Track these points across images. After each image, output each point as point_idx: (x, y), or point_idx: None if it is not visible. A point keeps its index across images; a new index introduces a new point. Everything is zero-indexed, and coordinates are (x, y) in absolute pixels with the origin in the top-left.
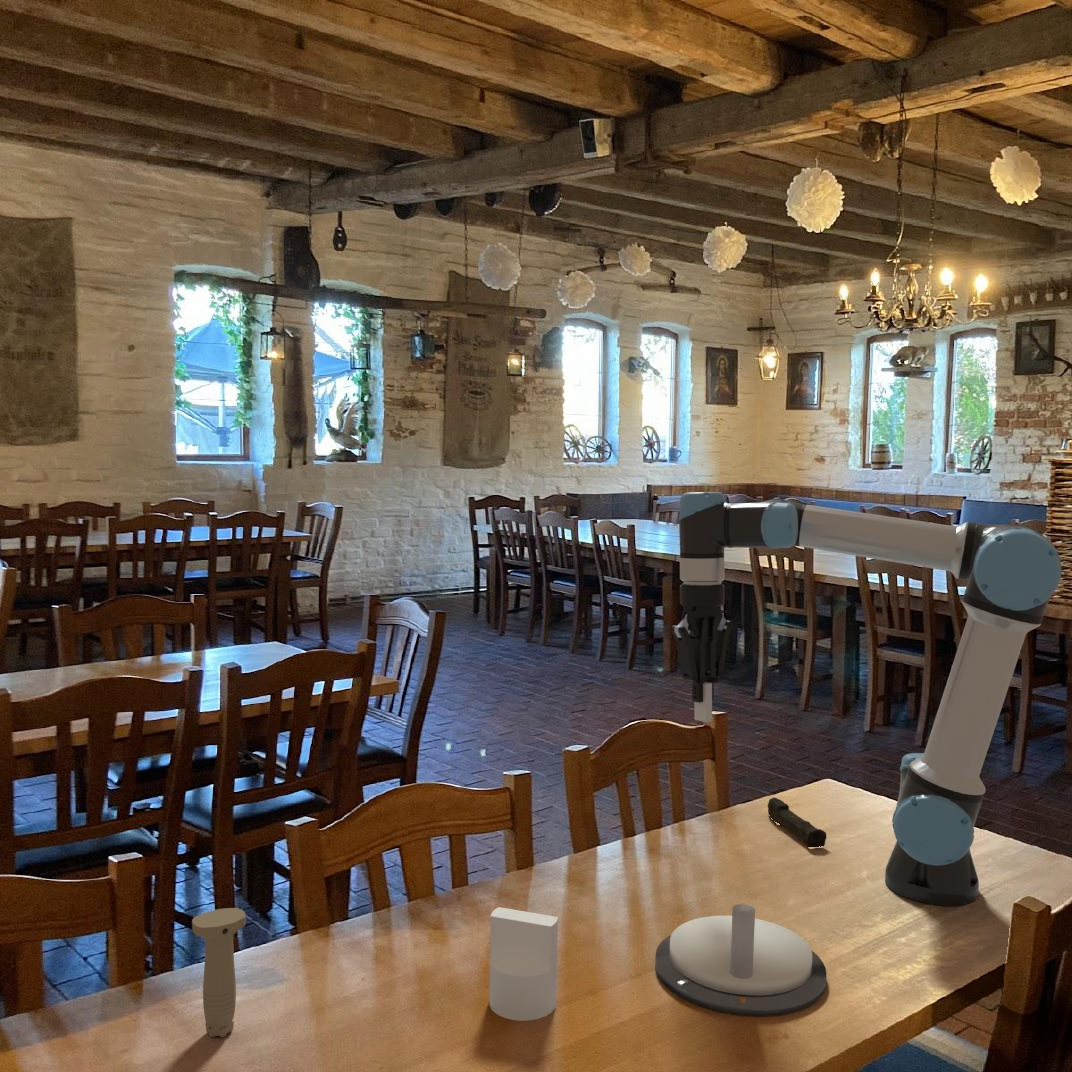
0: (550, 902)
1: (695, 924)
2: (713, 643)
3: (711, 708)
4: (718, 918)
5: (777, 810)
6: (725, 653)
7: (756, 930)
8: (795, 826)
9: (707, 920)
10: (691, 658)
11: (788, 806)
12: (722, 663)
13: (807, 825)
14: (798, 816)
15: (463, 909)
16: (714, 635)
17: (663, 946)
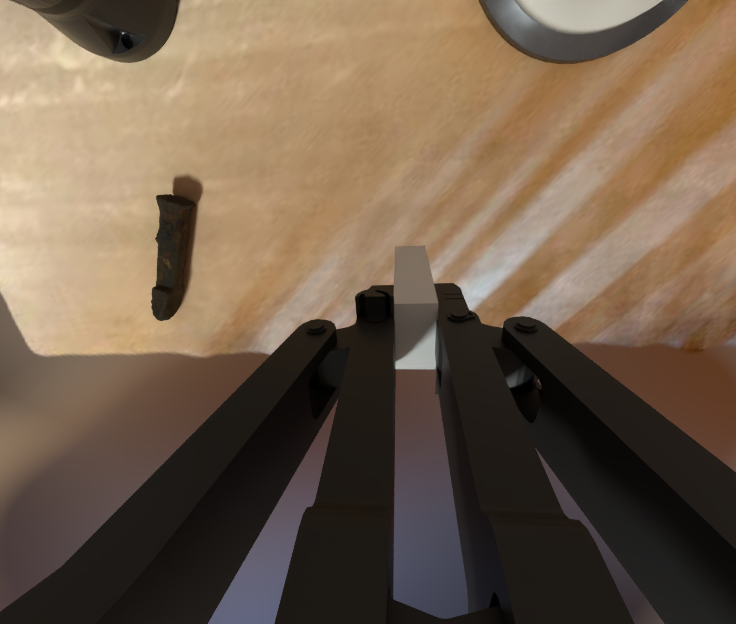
0: (601, 260)
1: (603, 8)
2: (346, 499)
3: (397, 260)
4: (554, 5)
5: (172, 292)
6: (226, 406)
7: None
8: (180, 243)
9: (575, 9)
10: (630, 412)
11: (153, 287)
12: (282, 362)
13: (168, 225)
14: (158, 260)
15: (693, 300)
16: (347, 595)
17: (646, 26)
